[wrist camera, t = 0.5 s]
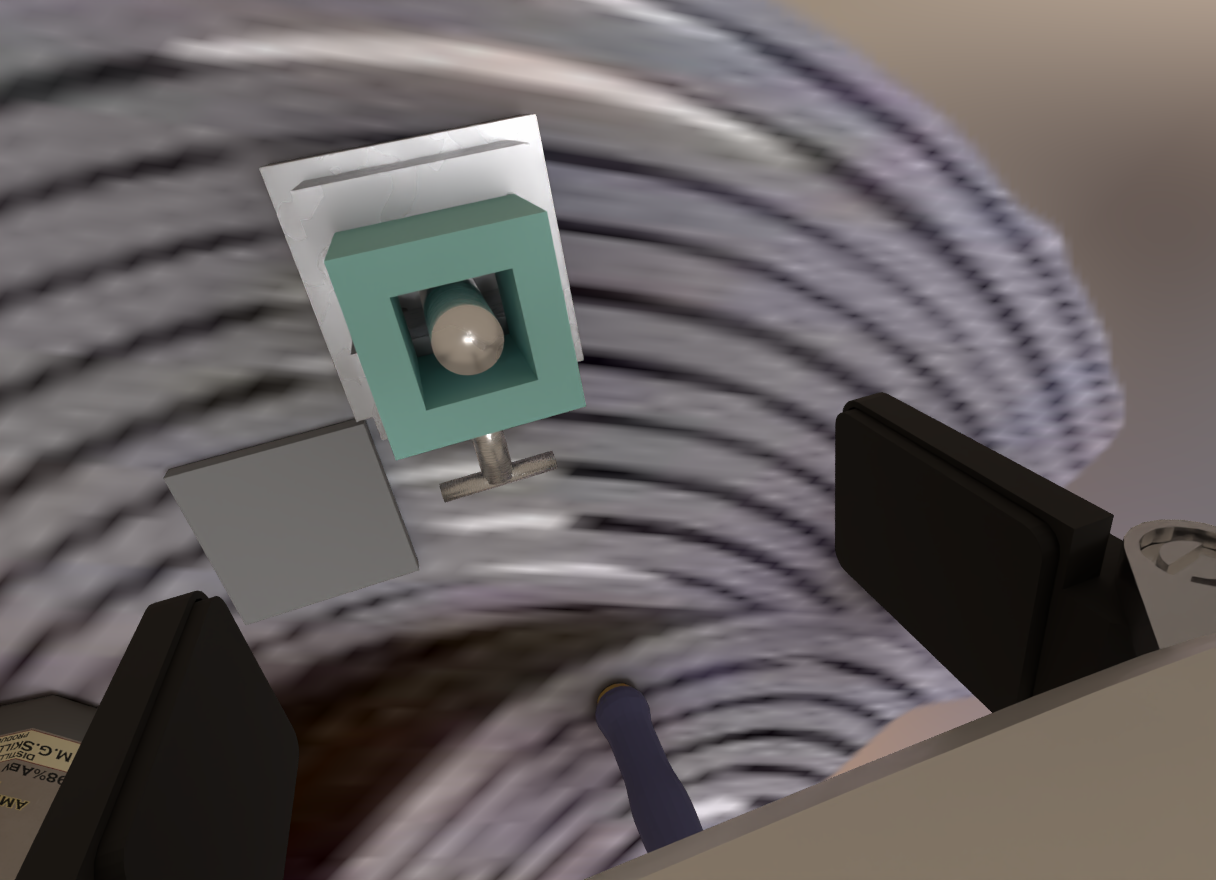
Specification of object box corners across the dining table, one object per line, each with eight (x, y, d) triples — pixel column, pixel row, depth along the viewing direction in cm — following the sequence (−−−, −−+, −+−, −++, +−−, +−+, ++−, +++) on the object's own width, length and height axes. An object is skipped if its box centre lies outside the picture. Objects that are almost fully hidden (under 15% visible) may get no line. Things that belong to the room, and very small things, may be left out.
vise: (584, 416, 41) (672, 541, 29) (385, 474, 39) (389, 635, 26) (523, 114, 33) (607, 110, 21) (268, 163, 31) (198, 192, 19)
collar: (550, 357, 30) (586, 406, 25) (392, 399, 29) (396, 460, 24) (514, 193, 27) (546, 211, 22) (334, 232, 26) (323, 261, 20)
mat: (417, 561, 42) (418, 570, 41) (248, 614, 40) (245, 625, 39) (364, 416, 37) (363, 423, 36) (168, 469, 35) (163, 478, 34)
